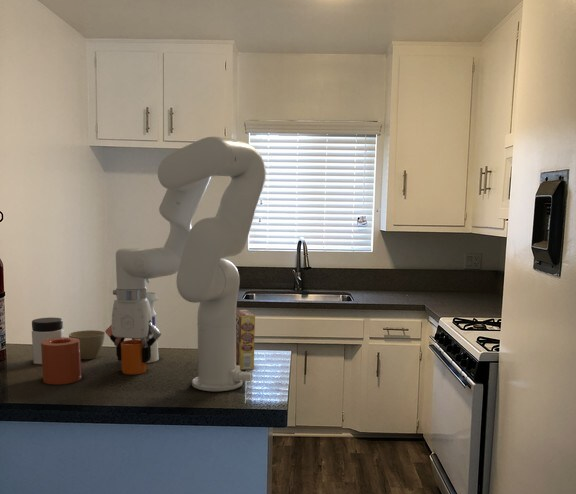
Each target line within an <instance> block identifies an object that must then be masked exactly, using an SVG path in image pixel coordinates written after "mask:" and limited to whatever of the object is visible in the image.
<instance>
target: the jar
mask: <svg viewBox="0 0 576 494" xmlns="http://www.w3.org/2000/svg"><path fill="white" fill-rule="evenodd" d="M63 324H64V323H63V319H62V318H61V317H40V318H35V319H33V320H31V330H32V331H31V342H32V360H33V364H34V365H41V366H42V352H41V342H42V341H44V340H47V339H53V338H65V333H64V325H63Z"/></svg>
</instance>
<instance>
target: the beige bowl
mask: <svg viewBox="0 0 576 494" xmlns="http://www.w3.org/2000/svg"><path fill="white" fill-rule="evenodd" d="M105 336H106V332H105V331H102V330H78V331H77V330H76V331H72V332H70V333H69V334H68V338H77V339H79V341H80V360H92V359H96V358H97V357H98V355H99V354H100V352H101V351H102V348H103V345H104V341H105Z"/></svg>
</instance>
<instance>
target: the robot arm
mask: <svg viewBox="0 0 576 494" xmlns="http://www.w3.org/2000/svg"><path fill="white" fill-rule="evenodd" d="M266 170H267V169H266V165H265V162H264V159H263V157H262V155H261V154H260V152H259V151H258V149H256V148H255V147H254V146H253V145H252V144H250V143H248V142H245V141H243V140H239V139H235V138H234V139H233V138H226V137H220V136H207V137H203V138H201V139H198V140H196V141H194V142H192V143H190V144H188V145H185V146H183V147H180V148H178V149H177V150H174V151H172V152H170V153H169V154H167V155H166V156H165V157H164V158H163V159H161V161H160V162H159V165H158V168H157V178H158V181H159V184H160V185H161V186H162V187H163V188H165V189H166V191H165V194H164V196H163V198H162V200H161V203H160V205H159V206H158V207H159V208H158V211H159V214H160V215H161V217H162V218H163V219H164V220H166V221H167V222H169V228H170V230H169V233H168V236H167V239H166V241H165V243H164V245H163V247H155V248H145V249H142V248H140V247H122V248H118V249H117V250H116V252H115V274H116V275H115V276H116V277H115V278H116V288H115V289H113V290H112V295H114V296H116V299H114V300H113V305H112V313H111V325H109V327H107V328H106V329H105V331H104V332H105V335H107V336H108V337H109V339H110V341H111V342H112V343H113V344H114V346H115V347H116V357H117V361H118V362H121V342H122V341H125V339H132V338H133V339H141V341H142V344H143V346H144V348H142V362H143V363H146V362H147V361H149V360H150V358H151V346H152V344H153V343H154V342H155V341H156V340H159V338H160V337H161V336H162V333H161V331H160V330H159V329H158V328H157V327H156V328H157V329H156V328H155V327H154V326H153V324H152V314H151V308H150V304H149V300H147V299H146V292H147V282H146V279H148V280H150V279H157V278H161V277H162V278H163V277H167V276H172V275H175V274H176V289H177V291H178V294H179V295H180V297H181V298H182V299H183V300H185V301H186V302H188V303H193V304H195V303H196V304H198V303H199V304H198V309H197V323H196V325H197V372H198V373H197V376H196V377H194V378H193V379H192V380H191V386H192V387H193V388H194V389H197V390H199V391H205V392H227V391H228V392H229V391H233V390H236V389H239V388H240V387H242V386H243V384H244V383H243V382H249V383H250V382H252V380H253V374H252V373H251V372H250V371H243V370H240V366H238V365H236V310H237V306H238V305H237V303H238V296H239V290H240V284H241V283H240V281H241V279H240V273H239V271H238V270H239V269H238V268H237V267H236V266H235V264H234V263H233V262H231V261H230V260H228V259H225V258H230V257H235V256H237V255H240V254H241V253H242V252H243V251H244V249H245V247H246V244H247V241H248V238H249V234H250V231H251V228H252V225H253V222H254V218H255V214H256V211H257V207H258V205H259V201H260V199H261V195H262V193H263V191H264V187H265V183H266V175H267V173H266V172H267V171H266ZM214 176H216V177H230V179H231V180H230V182H229V184H228V185H227V187H226V188H225V190H224V192H223V194H222V196H221V198H220V203H219V206H218V210H217V211H216V215H215V216H213V217H212V216H211V217H205V218H202V219H199V220H198V221H197V222H195V223H194V225H193V226H192V221H193V219H194V216H195V214H196V212H197V209H198V208H199V205H200V204H201V201H202V199H203V197H204V194H205V192H206V190H207V187H208V186H209V183H210V182H211V178H212V177H214ZM152 333H153V337H152V338H151V339H150V337H149V335H151V334H152ZM146 364H147V363H146Z"/></svg>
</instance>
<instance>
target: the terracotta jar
mask: <svg viewBox="0 0 576 494" xmlns="http://www.w3.org/2000/svg"><path fill="white" fill-rule="evenodd" d="M41 352H42V365H41V367H42V381H43V383H44V384H48V385H68V384H73V383H76V382H78V381H80V380H81V379H82V364H81V363H82V362H81V361H82V359H80V341H79V339H77V338H69V336H68V337H67V336H66V337H64V338H53V339H47V340H44V341H42V342H41Z"/></svg>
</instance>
